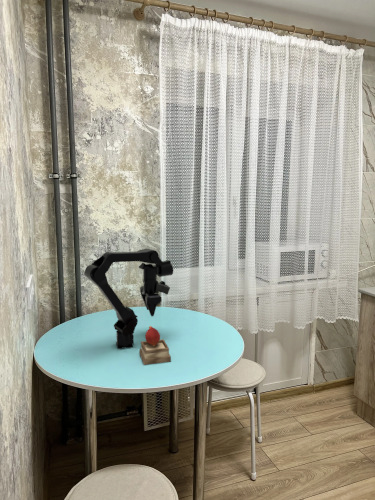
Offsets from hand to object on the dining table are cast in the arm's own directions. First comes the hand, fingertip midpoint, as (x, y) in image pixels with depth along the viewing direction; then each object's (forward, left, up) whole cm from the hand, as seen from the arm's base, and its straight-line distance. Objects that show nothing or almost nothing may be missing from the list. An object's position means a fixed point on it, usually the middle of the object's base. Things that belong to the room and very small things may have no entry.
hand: (150, 312), depth 164 cm
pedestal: (-2, -19, -12) cm, 23 cm away
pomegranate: (-2, -19, -7) cm, 20 cm away
